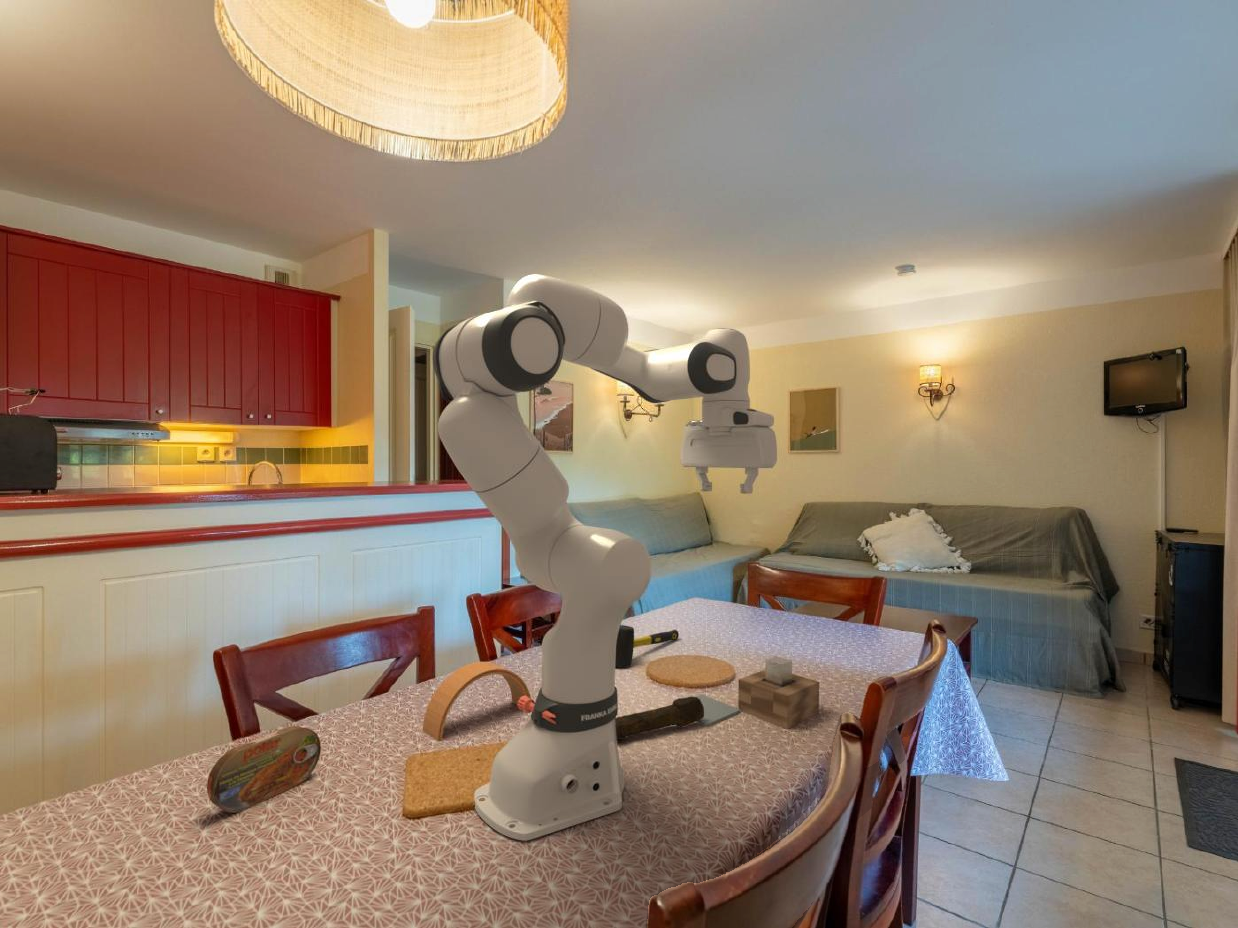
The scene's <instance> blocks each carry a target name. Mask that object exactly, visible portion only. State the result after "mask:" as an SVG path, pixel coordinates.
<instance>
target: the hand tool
mask: <svg viewBox="0 0 1238 928" xmlns="http://www.w3.org/2000/svg"><path fill="white" fill-rule="evenodd" d="M703 717H704V707H703V705H702V703H701V700H700V699H699V698H697V697H696V696H687V697H682V698H676V699H674V700H673V702H672V704H669V705H666V706H663V707H658V708H653V709H649V710H645V711H641V712H634V713H631V714H627V715H622V716H616V717H615V723H616V737H617V742H618V741H619V740H624V741H625V740H626V739H627V737H632V736H635V735H638V734H639V735H640V734H643V733H647V732H652V731H656V730H660V729H663V728H667V727H670V726H676V727H679V728H684V727H687V726H690V725H692V724H694V723H697V722H696V721H698V720H700V719H702V718H703Z"/></svg>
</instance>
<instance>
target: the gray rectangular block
mask: <svg viewBox="0 0 1238 928" xmlns="http://www.w3.org/2000/svg"><path fill="white" fill-rule="evenodd" d="M765 669H766V682H768V683H771V684H774V685H777V686H780V687H785V686H787V685H789V684H792V674H793V660H791V659H787V658H784V657H781V656H777V655H776V656H773V657H770V658H767V659H765Z"/></svg>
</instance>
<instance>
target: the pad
mask: <svg viewBox="0 0 1238 928" xmlns="http://www.w3.org/2000/svg"><path fill="white" fill-rule="evenodd" d="M695 697H697V698H699V699H700V700H701V703H702V705H703V707H704V717H703V718H702V719H700V720H698V721H696V722H695V723H698V724H700V725H702V726H705V727H707V728H708V727H710V726H713V725H714V724H717V723H720V722H721V721H724V720H727V719H729V718H731V717H733V716H735V715H738V714H739V713H741V712H742V711H741V709H738V707H735V706H733V705H730V704H727V703H726V702H722V701H720V700H717V699H715V698H712V697H710V696H707V695H706V694H698V695H695Z"/></svg>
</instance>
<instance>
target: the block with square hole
mask: <svg viewBox="0 0 1238 928" xmlns="http://www.w3.org/2000/svg"><path fill="white" fill-rule="evenodd" d="M737 691H738V693H737V694H738V696H737V697H738V701H737V702H738V705H737V708H738V709H741V712H743V713H746V714H748V715H750V716H753V717H756V718H758V719H760V720H763V721H765V722H769V723H771V724H774V725H776V726H779V727H780V728H784V729H785V730H787V729H789V728H792V727H793V726H796V725H798V724H799V723H802V722H803V721H806V720H807V719H810V718H811V717H813V716H815V715H817V714H819V713H820V681H817V680H814V679H811V678H807V677H805V676H801V675H797V674H796V673H795V674H794V673H792V684H789V685H787V686H785V687H780V686H777V685H774V684H771V683H768V682H766V668H765V669H763V670H759V671H757V672H754V673H752V674H749V675H747V676H744V677H741V678H739V679H738V690H737Z"/></svg>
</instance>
